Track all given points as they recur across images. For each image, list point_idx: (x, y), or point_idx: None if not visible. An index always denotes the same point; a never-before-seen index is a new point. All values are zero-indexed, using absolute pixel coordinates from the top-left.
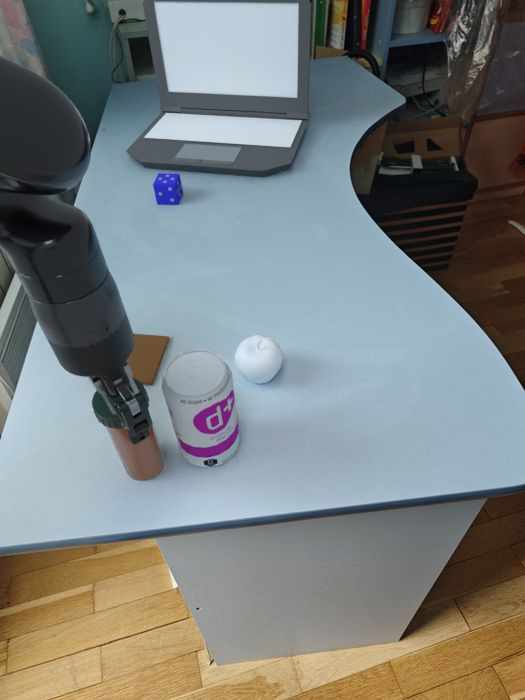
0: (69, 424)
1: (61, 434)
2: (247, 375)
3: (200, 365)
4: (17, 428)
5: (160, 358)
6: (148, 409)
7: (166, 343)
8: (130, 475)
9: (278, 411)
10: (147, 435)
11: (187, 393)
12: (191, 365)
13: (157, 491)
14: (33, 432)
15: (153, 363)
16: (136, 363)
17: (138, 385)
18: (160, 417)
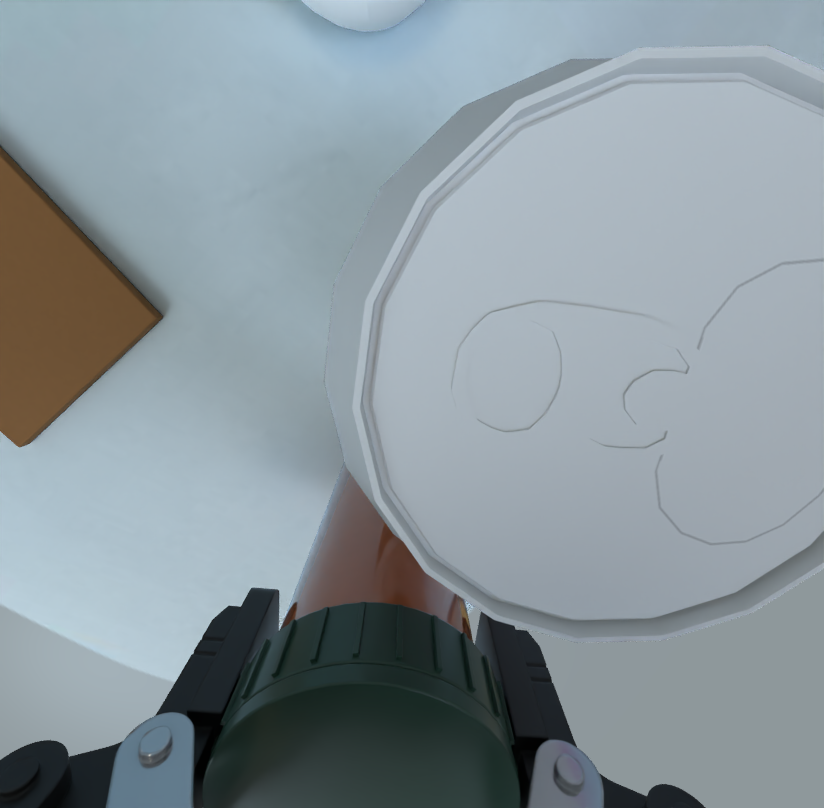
0: (156, 550)
1: (174, 575)
2: (395, 16)
3: (616, 304)
4: (92, 635)
5: (66, 225)
6: (411, 567)
7: (2, 156)
8: None
9: (543, 59)
10: (541, 655)
11: (746, 573)
12: (549, 370)
13: None
14: (127, 615)
15: (76, 260)
16: (42, 305)
17: (364, 702)
18: (292, 369)
